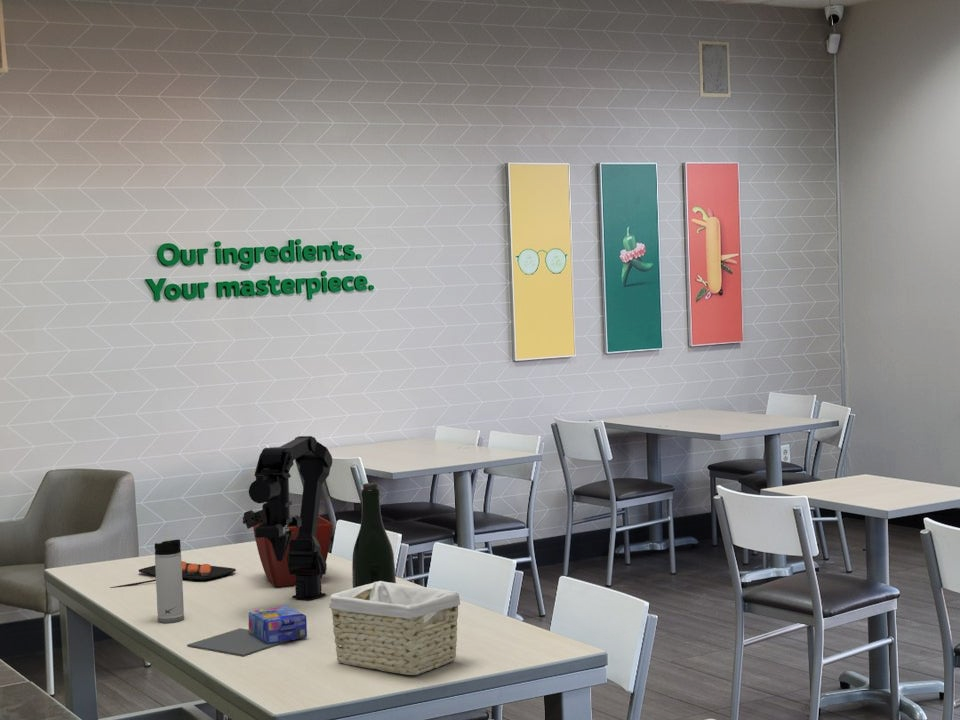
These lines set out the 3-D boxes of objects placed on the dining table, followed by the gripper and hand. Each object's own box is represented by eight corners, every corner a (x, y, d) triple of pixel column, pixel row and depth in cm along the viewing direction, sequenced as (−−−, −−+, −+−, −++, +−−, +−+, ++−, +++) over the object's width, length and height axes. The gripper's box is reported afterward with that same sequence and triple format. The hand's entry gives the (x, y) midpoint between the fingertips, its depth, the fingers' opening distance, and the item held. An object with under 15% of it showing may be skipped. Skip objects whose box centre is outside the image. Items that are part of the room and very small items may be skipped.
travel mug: (171, 624, 287) (167, 542, 286) (152, 621, 290) (148, 540, 290) (190, 618, 292) (186, 537, 292) (171, 616, 296) (167, 536, 295)
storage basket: (328, 663, 248) (325, 593, 247) (381, 645, 260) (378, 578, 260) (413, 681, 233) (410, 606, 232) (465, 661, 246) (462, 590, 245)
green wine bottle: (378, 613, 290) (373, 479, 289) (406, 620, 282) (401, 482, 281) (344, 622, 282) (338, 484, 281) (372, 629, 275) (366, 487, 274)
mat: (240, 629, 279) (239, 628, 279) (295, 639, 268) (295, 637, 268) (187, 646, 266) (187, 644, 266) (243, 656, 255) (243, 654, 255)
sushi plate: (240, 575, 346) (240, 562, 346) (161, 596, 321) (161, 582, 321) (171, 567, 362) (171, 555, 362) (91, 587, 337) (90, 573, 337)
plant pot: (320, 571, 344) (317, 513, 344) (335, 584, 326) (333, 523, 326) (254, 578, 338) (251, 520, 337) (266, 591, 320) (263, 529, 319)
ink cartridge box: (288, 603, 278) (311, 617, 266) (288, 626, 278) (312, 641, 266) (247, 609, 273) (269, 623, 261) (248, 633, 273) (270, 648, 261)
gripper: (259, 493, 304) (261, 554, 304) (232, 503, 286) (235, 568, 286) (301, 493, 303) (303, 554, 303) (277, 502, 284) (279, 567, 284)
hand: (279, 560), depth 294 cm, fingers closed
